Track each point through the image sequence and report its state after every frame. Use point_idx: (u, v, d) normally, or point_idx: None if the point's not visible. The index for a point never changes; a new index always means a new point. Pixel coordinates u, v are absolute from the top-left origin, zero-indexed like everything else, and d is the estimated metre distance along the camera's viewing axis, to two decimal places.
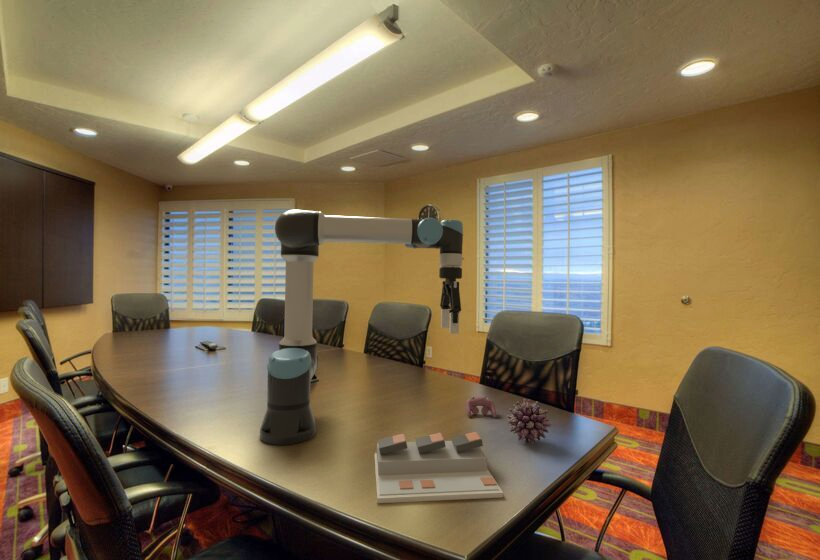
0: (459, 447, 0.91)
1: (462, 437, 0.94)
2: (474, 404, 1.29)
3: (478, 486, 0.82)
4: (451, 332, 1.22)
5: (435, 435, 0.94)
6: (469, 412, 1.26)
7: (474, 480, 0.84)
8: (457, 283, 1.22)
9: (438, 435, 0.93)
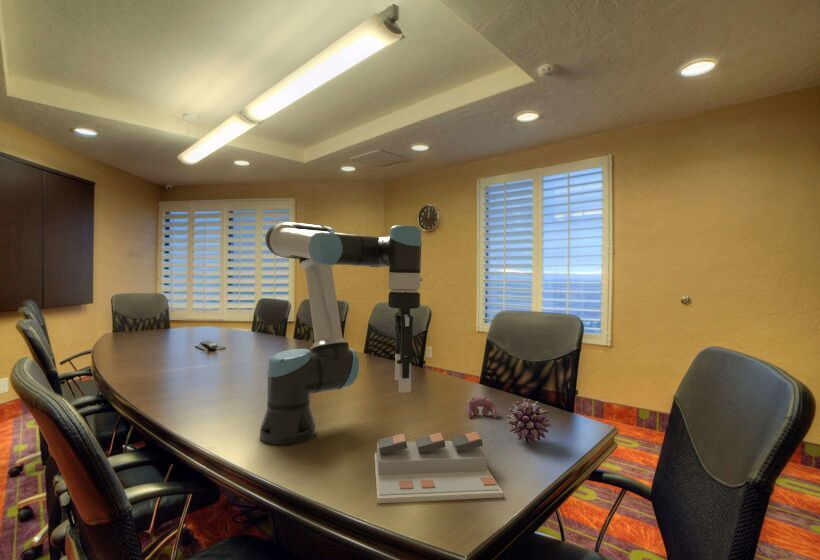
0: (459, 447, 0.91)
1: (462, 437, 0.94)
2: (475, 405, 1.28)
3: (478, 486, 0.82)
4: (400, 390, 0.86)
5: (435, 435, 0.94)
6: (470, 413, 1.26)
7: (474, 480, 0.84)
8: (410, 320, 0.85)
9: (438, 435, 0.93)
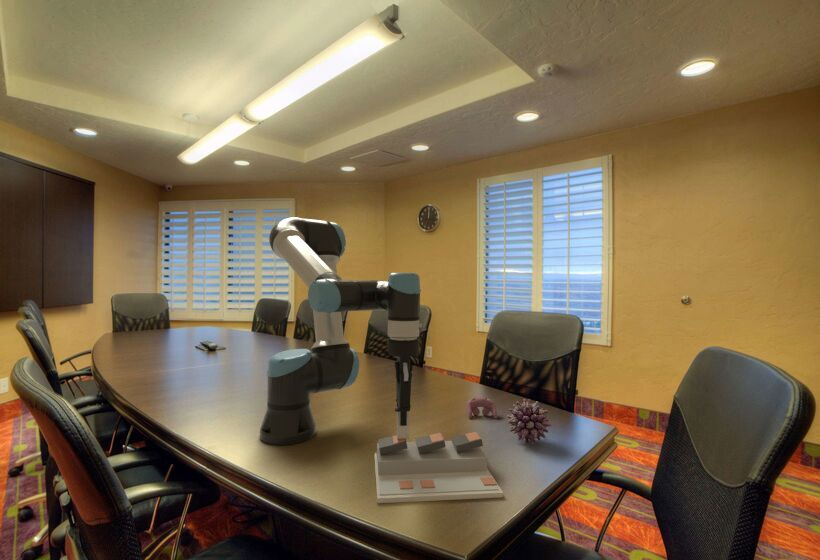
0: (459, 447, 0.91)
1: (462, 437, 0.94)
2: (475, 405, 1.28)
3: (478, 486, 0.82)
4: (398, 437, 0.91)
5: (435, 435, 0.94)
6: (470, 413, 1.25)
7: (474, 480, 0.84)
8: (409, 377, 0.86)
9: (438, 435, 0.93)
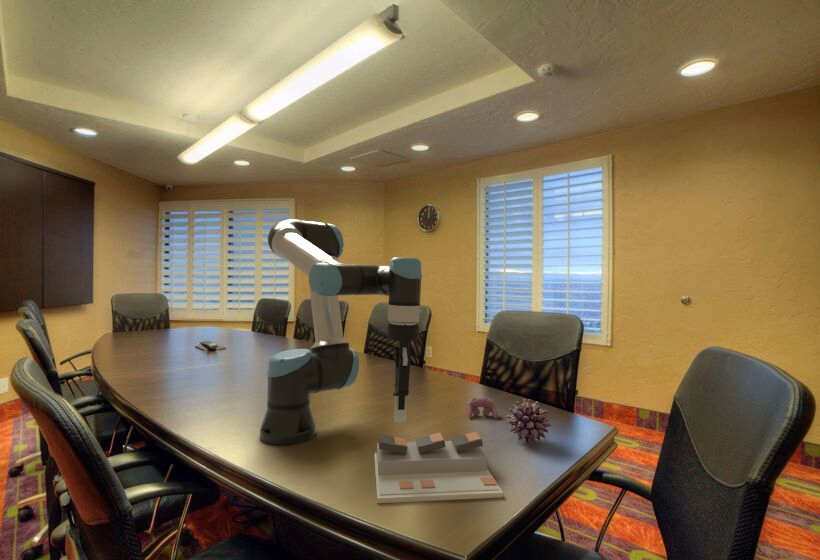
0: (459, 447, 0.91)
1: (462, 437, 0.94)
2: (475, 405, 1.28)
3: (478, 486, 0.82)
4: (396, 421, 0.91)
5: (435, 435, 0.94)
6: (470, 413, 1.25)
7: (474, 480, 0.84)
8: (408, 362, 0.86)
9: (438, 435, 0.93)
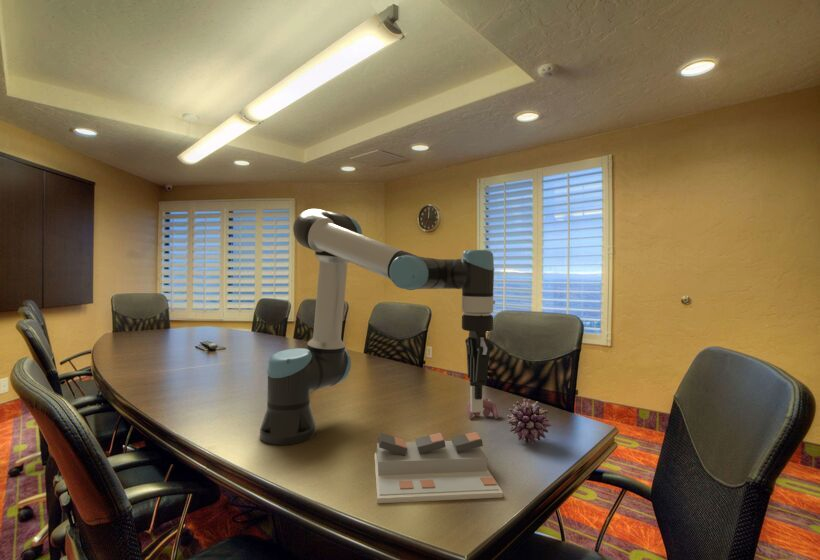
0: (459, 447, 0.91)
1: (462, 437, 0.94)
2: None
3: (478, 486, 0.82)
4: (473, 411, 0.93)
5: (435, 435, 0.94)
6: (471, 414, 1.25)
7: (474, 480, 0.84)
8: (488, 351, 0.88)
9: (438, 435, 0.93)
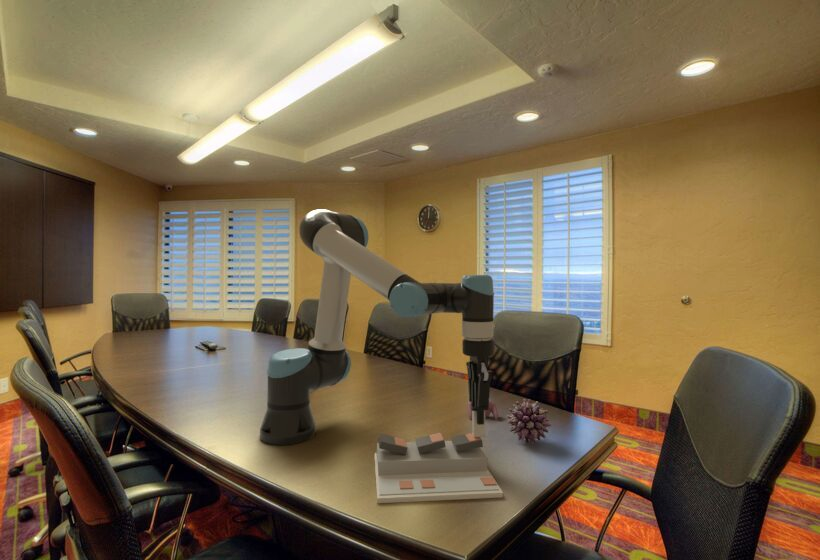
0: (459, 446, 0.91)
1: (462, 437, 0.94)
2: None
3: (478, 486, 0.82)
4: (475, 435, 0.93)
5: (435, 435, 0.94)
6: (471, 414, 1.24)
7: (474, 480, 0.84)
8: (489, 376, 0.88)
9: (438, 435, 0.93)
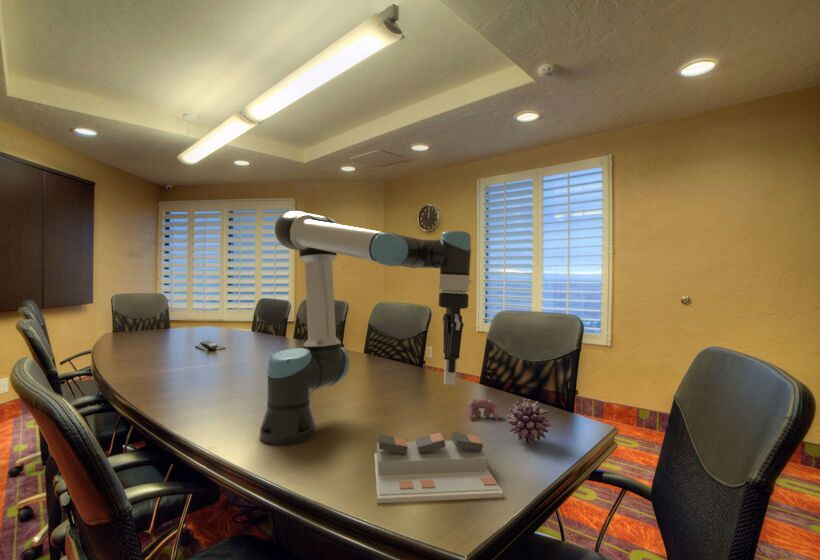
0: (459, 443, 0.91)
1: (463, 436, 0.94)
2: (476, 406, 1.27)
3: (478, 486, 0.82)
4: (446, 383, 0.98)
5: (435, 435, 0.94)
6: (471, 415, 1.24)
7: (474, 480, 0.84)
8: (461, 326, 0.93)
9: (438, 435, 0.93)
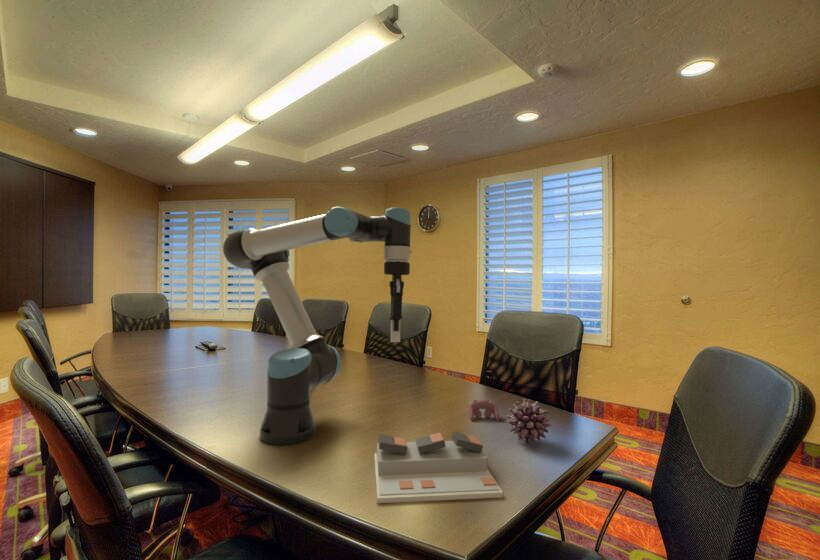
0: (460, 442, 0.91)
1: (463, 436, 0.94)
2: (477, 407, 1.26)
3: (478, 486, 0.82)
4: (392, 341, 1.13)
5: (435, 435, 0.94)
6: (472, 415, 1.23)
7: (474, 480, 0.84)
8: (400, 289, 1.07)
9: (438, 435, 0.93)
